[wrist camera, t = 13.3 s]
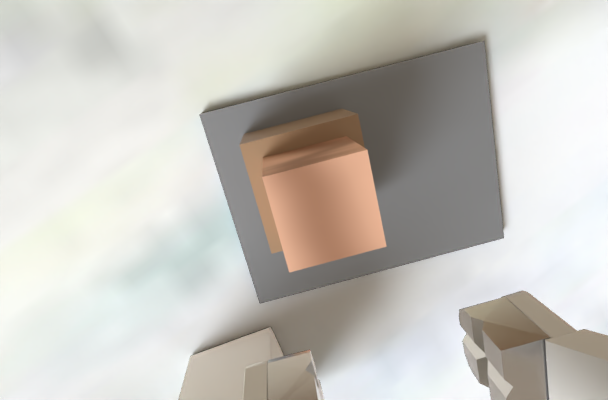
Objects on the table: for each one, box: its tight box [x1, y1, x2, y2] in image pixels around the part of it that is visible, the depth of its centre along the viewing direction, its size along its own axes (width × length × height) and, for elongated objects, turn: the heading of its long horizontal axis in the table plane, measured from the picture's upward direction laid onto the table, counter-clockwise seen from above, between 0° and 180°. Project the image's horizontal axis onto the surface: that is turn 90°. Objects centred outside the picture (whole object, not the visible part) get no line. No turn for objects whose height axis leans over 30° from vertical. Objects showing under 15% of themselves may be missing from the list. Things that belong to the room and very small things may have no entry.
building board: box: [199, 41, 504, 303], centre depth 27 cm, size 20×15×6 cm
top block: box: [262, 136, 387, 272], centre depth 21 cm, size 5×5×5 cm
